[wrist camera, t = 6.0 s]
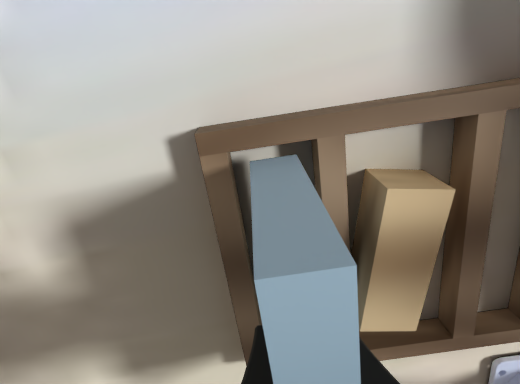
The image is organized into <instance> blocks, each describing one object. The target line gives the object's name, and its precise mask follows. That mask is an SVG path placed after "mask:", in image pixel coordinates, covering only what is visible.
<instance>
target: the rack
mask: <svg viewBox="0 0 520 384" xmlns="http://www.w3.org/2000/svg"><path fill="white" fill-rule="evenodd" d="M516 108H520V78H516V79H509V80H503V81H496V82H490V83H483V84H477V85H471V86H464V87H458V88H451V89H445V90H438V91H432V92H425V93H419V94H412V95H406V96H399V97H393V98H386V99H380V100H373V101H367V102H360V103H354V104H347V105H341V106H334V107H328V108H321V109H315V110H308V111H302V112H295V113H289V114H282V115H276V116H269V117H263V118H256V119H250V120H243V121H237V122H230V123H224V124H217V125H211V126H204V127H199V129H198V130H197V131H196V133H195V134H194V135H195V140H196V144H197V148H198V153H199V157H200V162H201V166H202V171H203V175H204V179H205V184H206V188H207V193H208V197H209V202H210V206H211V210H212V215H213V219H214V224H215V228H216V233H217V237H218V242H219V246H220V250H221V255H222V259H223V264H224V268H225V273H226V277H227V281H228V286H229V290H230V295H231V299H232V304H233V308H234V312H235V317H236V321H237V326H238V330H239V335H240V339H241V344H242V348H243V352H244V357H245V361H246V366H247V364H248V360H249V357H250V353H251V349H252V344H253V339H254V332H255V328H256V326H257V325H262V321H261V316H260V311H259V305H258V300H257V294H256V289H255V284H254V278H253V273H252V268H251V262H250V257H249V252H248V246H247V241H246V236H245V230H244V225H243V219H242V214H241V209H240V203H239V198H238V193H237V187H236V182H235V177H234V171H233V166H232V161H231V155H230V152H233V151H240V150H247V149H253V148H260V147H266V146H273V145H279V144H286V143H293V142H299V141H306V140H311V144H312V155H313V167H314V179H315V190H316V191H317V193H318V195H319V197H320V199H321V201H322V203H323V204H324V206H325V208H326V210H327V212H328V214H329V215H330V217H331V219H332V221H333V223H334V225H335V226H336V228H337V230H338V232H339V234H340V236H341V237H342V239H343V241H344V243H345V245H346V247H347V248H348V250H349V252H350V241H349V219H348V197H347V174H346V152H345V134H352V133H358V132H365V131H371V130H378V129H384V128H391V127H398V126H404V125H411V124H417V123H424V122H430V121H437V120H444V119H450V118H455V127H454V139H453V150H452V162H451V173H450V185H449V186H450V187H452V188H454V189H455V194H454V198H453V201H452V205H451V208H450V212H449V215H448V219H447V223H446V231H445V243H444V254H443V266H442V277H441V289H440V301H439V312H438V318H435V319H428V320H421V321H419V323H418V326H417V330H416V331H360V330H359V337H360V338H361V340H362V341H363V342H364V343H365V345H366V346H367V347H368V348H369V350H370V351H371V352H372V353H373V354H374V355H375V357H376V358H377V359H378V360H379V361H382V360H390V359H397V358H404V357H411V356H419V355H426V354H433V353H440V352H448V351H455V350H462V349H469V348H477V347H484V346H491V345H498V344H506V343H513V342H520V248H519V254H518V259H517V264H516V269H515V275H514V280H513V285H512V290H511V295H510V301H509V306H508V308H507V309H500V310H492V311H485V312H478V313H477V310H478V304H479V297H480V290H481V283H482V276H483V269H484V262H485V255H486V249H487V242H488V235H489V228H490V221H491V214H492V207H493V201H494V194H495V187H496V180H497V173H498V166H499V159H500V152H501V146H502V139H503V132H504V125H505V118H506V111H507V110H509V109H516Z"/></svg>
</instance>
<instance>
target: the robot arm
mask: <svg viewBox="0 0 520 384" xmlns="http://www.w3.org/2000/svg"><path fill="white" fill-rule="evenodd" d="M359 346H360V374H361V384H400V383H399V382H398V381H397V380H396V379H395V378H394V377H393V376H392V375H391V374H390V373H389V371H388V370H387V369H386V368H385V367H384V366H383V365H382V364H381V363H380V361H379V360H378V359H377V358H376V357H375V355H374V354H373V353H372V352H371V351H370V350H369V348H368V347H367V346H366V345H365V343H364V342H363V341H362V340H361V338H360V337H359ZM241 384H273V379H272V373H271V368H270V363H269V357H268V352H267V347H266V341H265V336H264V331H263V325H257V326H256V328H255V332H254V339H253V344H252V349H251V353H250V357H249V360H248V364H247V367H246V370H245V374H244V377H243V380H242V383H241ZM488 384H520V355H516V356H508V357H501V358H497V359H495V360H494V361H493V363H492V367H491V372H490V378H489V383H488Z"/></svg>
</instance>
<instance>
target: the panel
mask: <svg viewBox="0 0 520 384" xmlns="http://www.w3.org/2000/svg"><path fill="white" fill-rule="evenodd" d="M250 179H251V207H252V236H253V264H254V283H255V288H256V293H257V299H258V304H259V309H260V315H261V320H262V325H263V331H264V336H265V341H266V347H267V352H268V357H269V363H270V368H271V373H272V379H273V384H361V374H360V346H359V317H358V289H357V265H356V263H355V261H354V259H353V258H352V256H351V254H350V252H349V250H348V248H347V247H346V245H345V243H344V241H343V239H342V237H341V236H340V234H339V232H338V230H337V228H336V226H335V225H334V223H333V221H332V219H331V217H330V215H329V214H328V212H327V210H326V208H325V206H324V204H323V203H322V201H321V199H320V197H319V195H318V193H317V191H316V190H315V188H314V186H313V184H312V182H311V180H310V179H309V177H308V175H307V173H306V171H305V169H304V168H303V166H302V164H301V162H300V160H299V158H298V157H297V155H289V156H282V157H276V158H269V159H263V160H256V161H250Z"/></svg>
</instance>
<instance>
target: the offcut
mask: <svg viewBox="0 0 520 384" xmlns="http://www.w3.org/2000/svg"><path fill="white" fill-rule="evenodd" d="M454 194H455V189H454V188H452V187H450V186H449V185H447V184H445V183H444V182H442V181H440V180H439V179H437V178H435V177H434V176H432V175H430V174H429V173H427V172H425V171H424V170H399V169H365V174H364V180H363V186H362V193H361V199H360V205H359V211H358V217H357V223H356V230H355V236H354V242H353V248H352V254H351V256H352V258H353V259H354V261H355V263H356V265H357V289H358V317H359V330H360V331H416V330H417V326H418V323H419V319H420V315H421V312H422V308H423V305H424V301H425V298H426V294H427V290H428V287H429V283H430V280H431V276H432V273H433V269H434V265H435V262H436V258H437V255H438V251H439V248H440V244H441V240H442V237H443V233H444V230H445V226H446V223H447V219H448V215H449V212H450V208H451V205H452V201H453V198H454Z"/></svg>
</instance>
